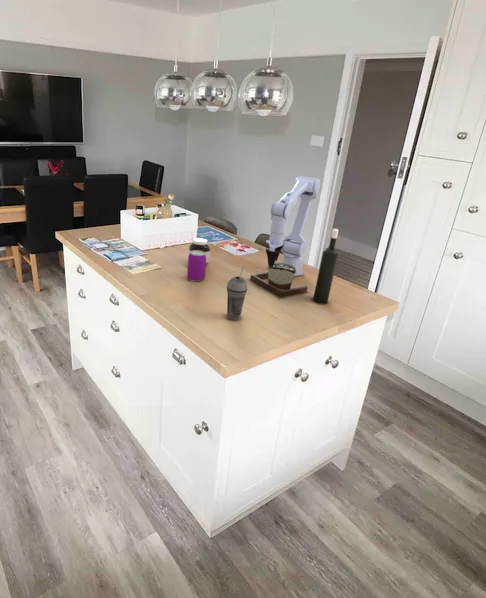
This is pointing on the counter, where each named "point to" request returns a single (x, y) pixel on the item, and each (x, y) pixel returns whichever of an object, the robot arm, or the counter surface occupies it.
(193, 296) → the counter surface
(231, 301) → the beverage cup
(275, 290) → the brown frame
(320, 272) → the wine bottle
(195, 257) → the beverage can
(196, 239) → the spread jar
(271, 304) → the counter surface
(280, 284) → the food container
